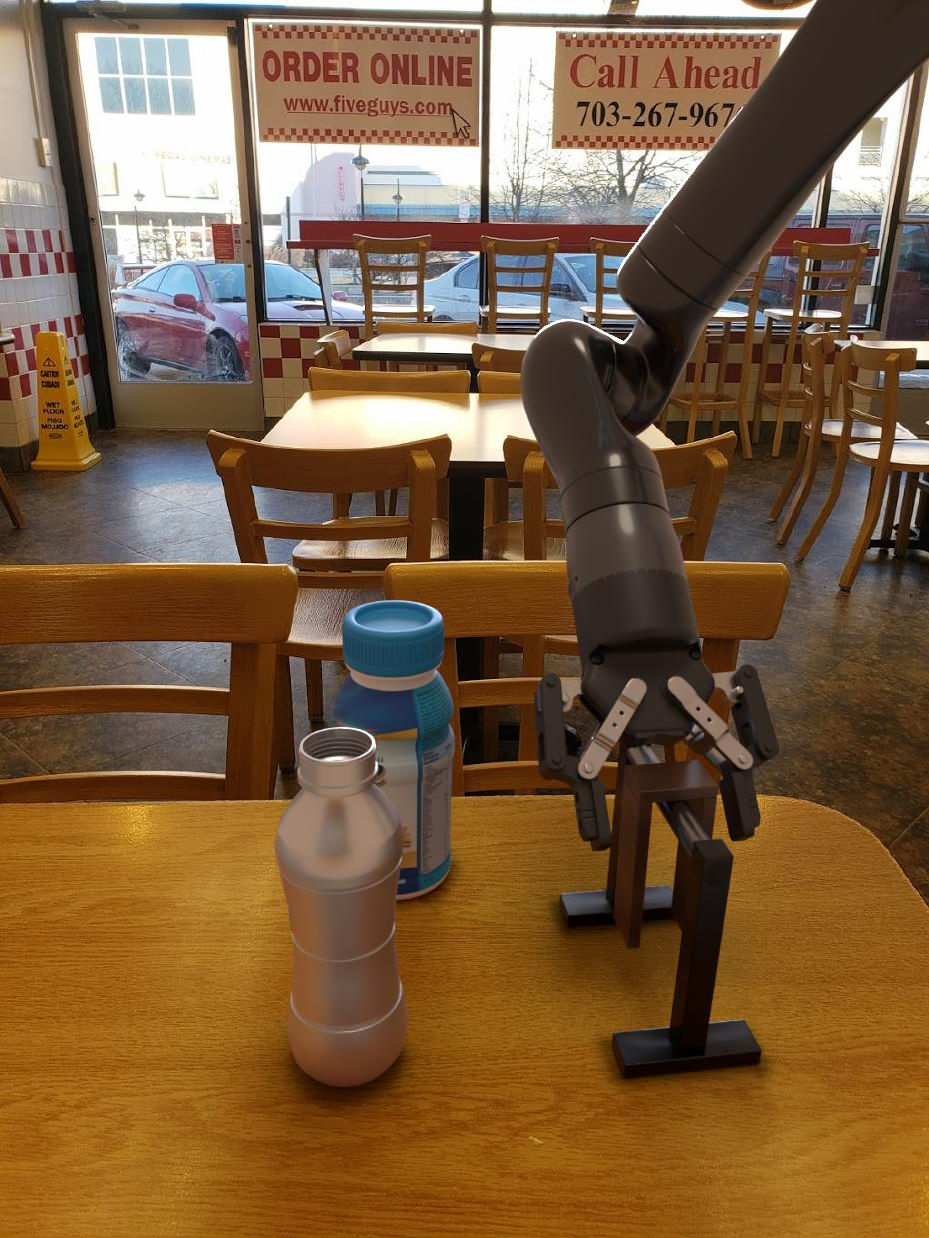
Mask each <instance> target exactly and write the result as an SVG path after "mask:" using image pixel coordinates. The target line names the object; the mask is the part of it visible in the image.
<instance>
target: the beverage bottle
mask: <svg viewBox="0 0 929 1238" xmlns="http://www.w3.org/2000/svg"><path fill="white" fill-rule="evenodd" d="M342 620H343V621H342V624H341V625H342V626H341V634H342V635H341V636H342V638H341V639H342V640H341V641H342V657H343V661H344V664H345V667H346V668H347V669H348V671H349V672H348V673H347V675H346V677H345V678H344V680H343V682H342V683H341V686H340V687H339V690H338V692H337V695H336V699H335V702H334V705H333V716H334V719H335V722H336V723H337V725H338V726H337V727H348V728H355V729H359V730H363V731H365V732H367V733H369V734H370V735H371V736H372V737H373V738H374V740H375V744H376V762H377V765H378V777H377V779H376V781H375V782H374V784H375V785H376V786H377V787H378V788H379V789H380V790H381V791H382V792H383V793H384V795H385V796H386V797H387V798H388V800H389V801H390V802H391V804H392V805H393V806H394V808H395V809H396V811H397V813H398V816H399V818H400V821H401V824H402V827H403V829H404V844H403V854H402V862H401V868H400V875H399V882H398V888H397V895H396V901H403V900H409V899H414V898H417V897H420V896H423V895H425V894H427V893H429V892H431V891H433V890H434V889H436V888H438V886H439V885H441V884H442V883H443V882H444V881H445V880H446V878H447V876H448V874H449V873H450V869H451V864H452V848H451V837H452V835H451V828H452V826H451V825H452V793H453V791H452V788H453V787H452V785H453V758H454V757H455V751H456V738H455V733H454V730H453V728H452V726H451V725H450V724H451V721H452V719H453V716H454V710H455V709H454V702H453V699H452V695H451V692H450V689H449V687H448V686H447V685H448V684H446V682H445V680H444V679H443V676H442V675H441V674H440V672H439V671H438V669H439V668H440V666H441V664H442V663H443V660H444V653H445V652H444V651H445V648H444V647H445V624H444V619H443V615H442V614H441V613H440V611H438V609H436V608H434V607H432V606H430V605H427V604H424V603H421V602H416V601H411V600H410V601H409V600H396V599H395V600H392V599H391V600H379V601H378V600H377V601H372V602H368V603H363V604H361V605H358V606H355V607H353V608H352V609H350V610H349V611H347V612H346V614H345V615H344V617H343V619H342Z"/></svg>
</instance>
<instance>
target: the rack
mask: <svg viewBox="0 0 929 1238" xmlns="http://www.w3.org/2000/svg"><path fill="white" fill-rule="evenodd" d="M650 763H662V762H661V760H660V759H659V758H658V756H657V754H656V753H655V752H654V750H653V749H652V744H651V743H650V744H647V745H644V746H641V747H635V748H626V745H624V744H621V743H619V746H618V758H617V768H616V781H615V790H614V791H615V792H614V802H613V812H612V824H611V837H612V844H611V847H609V855H608V867H607V879H606V887H605V888H606V889H603V890H601V889H600V890H589V891H577V892H564V893H563V892H562V893H559V900H558V906H559V909H560V911H561V914H562V916H563V920H564V922H565V924H566V925H565V926H566V927H567V928H577V927H587V926H588V927H590V926H599V925H611V924H616V922H615V920H614V918H613V913H614V899H615V886H616V873H617V860H618V847H619V834H620V820H621V807H622V794H623V781H624V767H625V765H637V764H650ZM654 804H655V805H656V807H657V808H658V810H659V812H660V813H661V815H662V816H663V818H664V819H665V821H666V823H667V824H668V826H669V828H670V829H671V831H672V832H673V834H674V836H675V837H676V839H677V842H678V841H679V842H680V844H681V845H682V847H683V849H684V850H685V852H686V853H687V855H688V857H689V858H690V860H691V864H690V872H689V880H688V887H687V895H686V903H685V911H684V919H683V926H682V931H681V933H680V934H681V935H680V941H679V942H680V943H679V951H678V956H677V958H678V959H677V967H676V974H675V981H674V989H673V997H672V1004H671V1012H670V1020H669V1026H664V1027H654V1028H645V1029H636V1030H625V1031H618V1032H617V1031H616V1032H613V1033H612V1039H611V1047H612V1049H613V1053H614V1055H615V1058H616V1060H617V1063H618V1066H619V1069H620V1072H621V1074H622V1077H623V1078H624V1079H632V1078H640V1077H650V1076H651V1077H652V1076H658V1075H667V1074H677V1073H686V1072H696V1071H704V1070H714V1069H723V1068H732V1067H740V1066H741V1067H742V1066H750V1065H751V1066H752V1065H758V1064H760V1063H761V1058H762V1052H763V1050H762V1048H761V1047H760V1045H759V1043H758V1041H757V1039H756V1037H755V1036H754V1034H753V1032H752V1030H751V1028H750V1027H749V1025H748V1023H747V1021H746V1020H745V1019H733V1020H723V1021H713V1022H710V1020H711V1013H712V1008H713V1000H714V994H715V986H716V980H717V973H718V968H719V967H718V966H719V959H720V953H721V946H722V939H723V933H724V926H725V919H726V913H727V912H726V911H727V906H728V899H729V893H730V886H731V885H730V884H731V880H732V872H733V864H734V859H735V856H734V854H733V852H731V850H730V849H729V847H728V846H727V843H725V841H724V840H723V839H722V838H714V839H713V836H712V837H711V836H710V834H709V833H708V831H707V830H706V828H705V827H704V825H703V824H702V822H701V821H700V819H699V818H698V817H697V815H696V814H695V812H694V811H693V809H692V808H691V806H690V805H689V803H688V802H687V800H680V801H667V802H655V803H654ZM672 896H673V888H672V887H671V886H670V884H666V885H665V884H664V885H652V886H645V895H644V906H643V917H642V922H645V921H646V922H647V921H659V920H669V919H670V920H671V919H675V918H674V917H673V915H672V913H671V905H672Z"/></svg>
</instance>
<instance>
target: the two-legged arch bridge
mask: <svg viewBox="0 0 929 1238" xmlns="http://www.w3.org/2000/svg"><path fill="white" fill-rule="evenodd" d="M718 792H719V784H718V783H717V782H716V781H715V780H714V778H713V777H712V776H711V774H710V773H709V771H708V770H707V769H706V767H705V766H704V765H703V763H702V762H701V761H700V760H699V759H693V760H679V761H666V762H661V763H650V764H637V765H625V767H624V781H623V794H622V807H621V820H620V834H619V847H618V860H617V873H616V886H615V899H614V913H613V918H614V920H615V922H616V923H615V925H616V927H617V929H618V932H619V933H620V936H621V938H622V940H623V943H624V944H625V947H626V949H627V950H634V949H635V950H636V949H640V948H641V939H642V928H643V927H642V925H643V921H642V917H643V906H644V895H645V887H646V883H647V874H648V873H647V871H648V862H649V861H648V859H649V850H650V839H651V826H652V817H653V806H654V805H653V803H654V804H656V803H655V802H667V801H680V800H687V802H688V803H689V805H690V806H691V808H692V809H693V811H694V812H695V814H696V815H697V817H698V818H699V819H700V821H701V822H702V824H703V825H704V827H705V828H706V830H707V831H708V833H709V834H710V836H711V837H712V838H713V835H714V827H715V819H716V811H717V802H718ZM690 864H691V860H690V858H689V857H688V855H687V853H686V852H685V850H684V849H683V847H682V845H681V844H680V842H679V841H678V840H677V847H676V857H675V868H674V877H673V885H672V886H673V887H672V891H673V896H672V905H671V913H672V915H673V917H674V918H673V919H674V920H675V922H676V924H677V926H678V927H679V930H680V931H681V932H682V926H683V919H684V911H685V903H686V895H687V887H688V880H689V872H690Z"/></svg>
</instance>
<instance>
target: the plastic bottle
mask: <svg viewBox="0 0 929 1238" xmlns="http://www.w3.org/2000/svg"><path fill="white" fill-rule="evenodd" d="M298 758H299V759H298V760H299V761H298V762H299V766H298V768H297V782H298V784H299V786H300V787H301V789H300V790H299V791H298V792H297V794H296V795H295V796H294V797H293V798H292V799H291V800H290V802H289V803H288V805H287V807H286V808H285V810H284V811H283V813H282V814H281V816H280V818H279V820H278V822H277V825H276V830H275V833H274V839H273V848H274V854H275V855H274V856H275V861H276V865H277V868H278V874H279V878H280V882H281V885H282V889H283V893H284V896H285V901H286V906H287V911H288V918H289V925H290V933H291V939H292V947H293V950H292V973H291V975H292V976H291V977H292V978H291V991H290V996H289V1002H288V1009H287V1018H286V1020H287V1021H286V1035H287V1036H286V1037H287V1040H288V1043H289V1046H290V1050H291V1054H292V1056H293V1058H294V1060H295V1063H296V1065H298V1066H299V1068H300V1069H301V1070H302V1071H303V1072H304V1073H305V1074H307V1075H308V1076H309V1077H311V1078H312V1079H314V1080H315V1081H317V1082H319V1083H321V1084H324V1085H326V1086H330V1087H339V1088H350V1087H357V1086H361V1085H363V1084H366V1083H369V1082H372V1081H373V1080H376V1079H377V1078H378V1077H380V1076H382V1074H383V1073H385V1072H386V1071H387V1070H388V1069H389V1068H390V1067H392V1065H393V1064H394V1063H395V1062H396V1060H397V1059H398V1058H399V1056H400V1054H401V1052H402V1051H403V1048H404V1045H405V1040H406V1036H407V1031H408V1026H409V1010H408V1005H407V999H406V995H405V991H404V987H403V983H402V981H401V978H400V970H399V961H398V953H397V946H396V945H397V944H396V937H395V936H396V912H397V910H396V909H397V900H396V895H397V888H398V882H399V875H400V868H401V862H402V854H403V844H404V829H403V827H402V824H401V821H400V818H399V816H398V813H397V811H396V809H395V808H394V806H393V805H392V804H391V802H390V801H389V800H388V798H387V797H386V796H385V795H384V793H383V792H382V791H381V790H380V789H379V788H378V787H377V786H376V785H375V784H374V782H375V781H376V779H377V777H378V765H377V762H376V744H375V740H374V738H373V737H372V736H371V735H370V734H369V733H367V732H365V731H363V730H359V729H355V728H348V727H338V726H335V727H328V728H323V729H319V730H316V731H314V732H312V733H310V734H308V735H307V736H304V737H303V738H302V740H301V742H300V743H299V749H298Z"/></svg>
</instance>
